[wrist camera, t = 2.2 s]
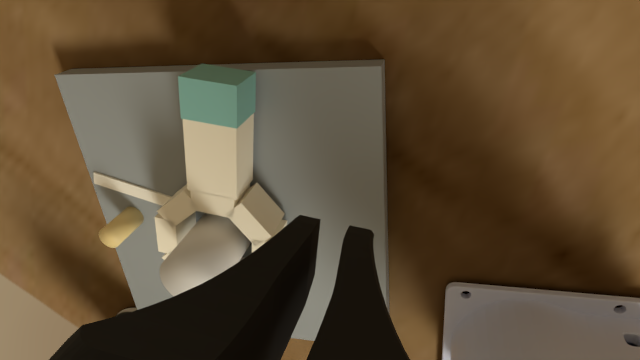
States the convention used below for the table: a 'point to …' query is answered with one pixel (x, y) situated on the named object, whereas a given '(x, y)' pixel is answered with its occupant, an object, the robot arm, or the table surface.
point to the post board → (268, 168)
